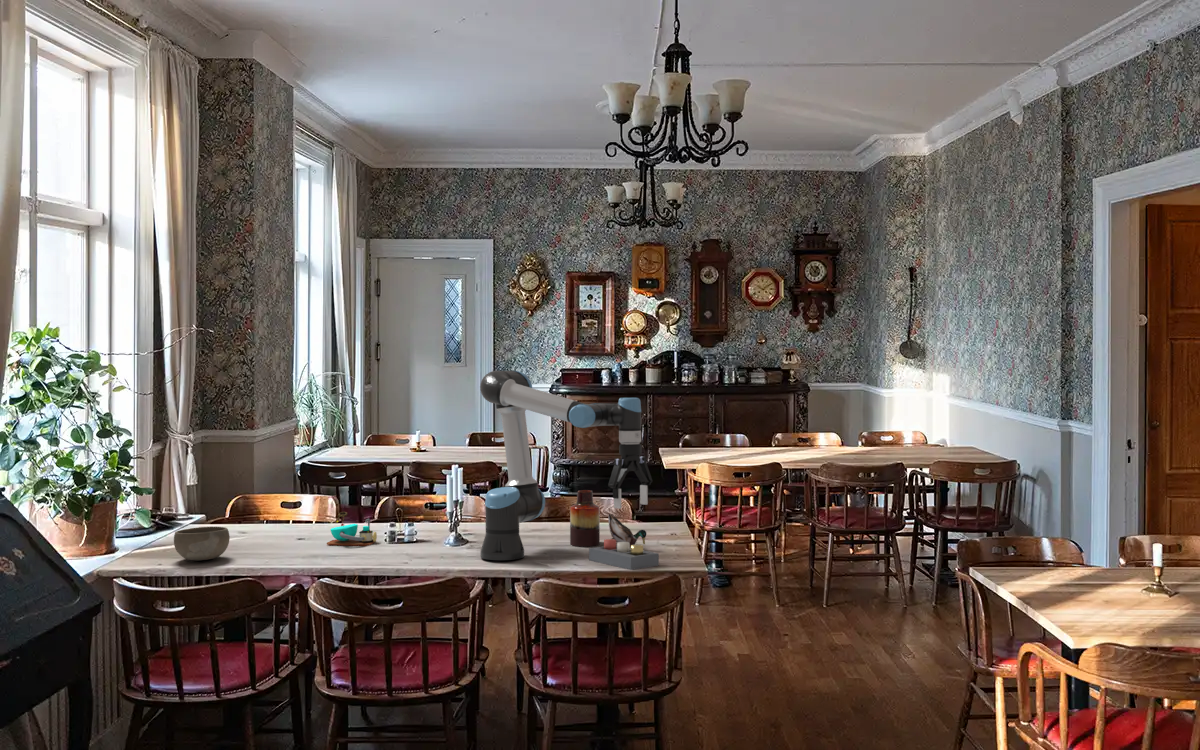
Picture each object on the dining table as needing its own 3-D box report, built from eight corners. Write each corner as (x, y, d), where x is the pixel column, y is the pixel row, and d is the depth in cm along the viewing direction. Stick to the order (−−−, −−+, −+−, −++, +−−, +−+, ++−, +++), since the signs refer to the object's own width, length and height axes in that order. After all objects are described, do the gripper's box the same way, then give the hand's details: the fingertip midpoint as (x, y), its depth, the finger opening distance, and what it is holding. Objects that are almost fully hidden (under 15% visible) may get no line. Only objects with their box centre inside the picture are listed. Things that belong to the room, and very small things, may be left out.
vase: (605, 546, 375) (605, 491, 375) (584, 549, 368) (584, 493, 368) (585, 542, 383) (585, 488, 383) (564, 546, 375) (564, 490, 375)
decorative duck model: (654, 540, 366) (638, 501, 369) (644, 543, 359) (628, 503, 363) (621, 554, 373) (606, 516, 376) (611, 557, 366) (595, 518, 369)
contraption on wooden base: (368, 549, 370) (368, 507, 370) (320, 548, 371) (320, 507, 371) (380, 543, 384) (380, 502, 384) (333, 542, 385) (333, 502, 385)
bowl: (170, 556, 353) (170, 527, 353) (224, 552, 362) (225, 524, 362) (177, 564, 338) (177, 534, 338) (233, 560, 347) (233, 530, 347)
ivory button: (622, 554, 339) (622, 544, 339) (614, 553, 343) (614, 542, 343) (632, 553, 342) (632, 542, 342) (624, 551, 345) (624, 541, 345)
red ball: (609, 551, 345) (609, 541, 345) (601, 550, 348) (601, 539, 348) (618, 550, 347) (618, 540, 347) (611, 548, 351) (611, 538, 351)
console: (630, 569, 330) (630, 557, 330) (589, 560, 347) (589, 548, 347) (658, 565, 337) (658, 553, 337) (616, 556, 355) (616, 544, 355)
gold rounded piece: (636, 557, 334) (636, 547, 334) (627, 555, 337) (627, 545, 337) (645, 556, 337) (645, 545, 337) (637, 554, 340) (637, 544, 340)
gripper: (614, 445, 333) (614, 510, 333) (662, 441, 352) (662, 503, 351) (597, 444, 338) (597, 509, 338) (645, 441, 357) (646, 501, 357)
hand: (630, 506), depth 345 cm, fingers open, 13 cm apart
